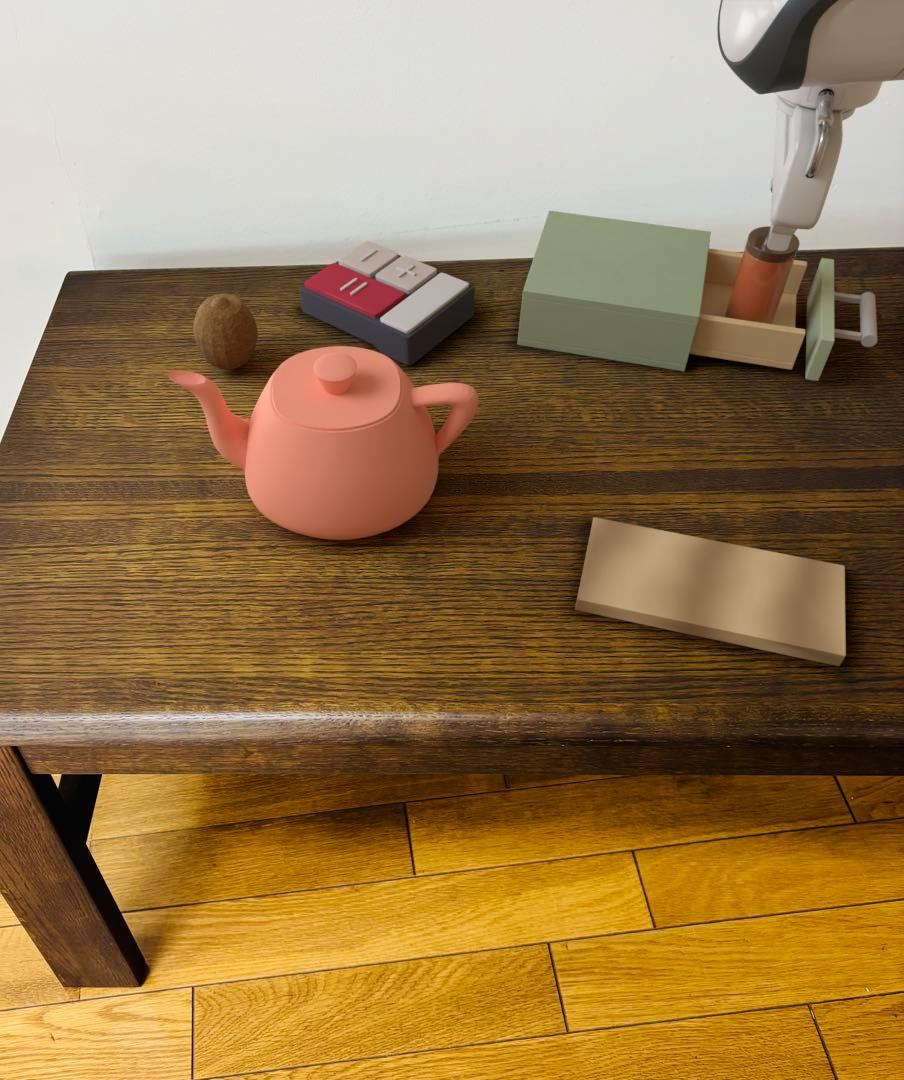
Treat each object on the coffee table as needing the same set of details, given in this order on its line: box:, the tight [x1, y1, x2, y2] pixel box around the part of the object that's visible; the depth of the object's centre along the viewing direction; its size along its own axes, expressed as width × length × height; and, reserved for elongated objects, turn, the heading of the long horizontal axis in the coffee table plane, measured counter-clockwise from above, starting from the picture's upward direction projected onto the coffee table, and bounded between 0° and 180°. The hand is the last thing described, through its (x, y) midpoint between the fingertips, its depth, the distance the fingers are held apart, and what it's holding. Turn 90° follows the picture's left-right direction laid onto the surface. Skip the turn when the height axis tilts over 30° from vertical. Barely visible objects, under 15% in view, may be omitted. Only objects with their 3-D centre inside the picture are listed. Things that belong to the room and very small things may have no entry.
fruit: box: [192, 293, 259, 370], centre depth 98 cm, size 6×6×8 cm
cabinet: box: [516, 210, 712, 372], centre depth 101 cm, size 17×15×7 cm
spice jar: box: [725, 225, 800, 324], centre depth 96 cm, size 5×5×9 cm
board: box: [574, 516, 847, 667], centre depth 80 cm, size 20×9×2 cm, turn 73°
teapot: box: [167, 345, 480, 541], centre depth 84 cm, size 25×17×13 cm
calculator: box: [298, 240, 476, 367], centre depth 104 cm, size 11×4×15 cm
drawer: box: [689, 248, 878, 382], centre depth 98 cm, size 20×13×5 cm
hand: (777, 217), depth 91 cm, fingers open, 8 cm apart
